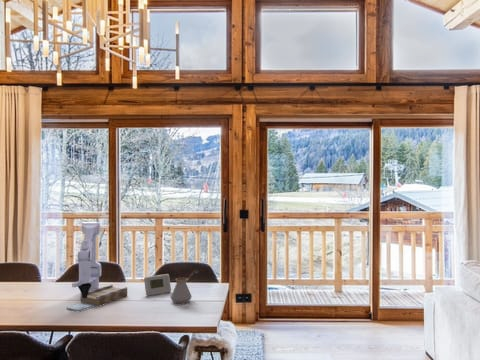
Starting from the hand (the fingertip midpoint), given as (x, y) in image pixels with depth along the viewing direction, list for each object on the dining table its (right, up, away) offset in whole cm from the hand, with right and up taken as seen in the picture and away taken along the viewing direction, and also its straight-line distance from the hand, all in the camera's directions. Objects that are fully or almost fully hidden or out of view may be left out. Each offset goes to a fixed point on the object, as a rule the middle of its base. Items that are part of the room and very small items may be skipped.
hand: (84, 297), depth 210 cm
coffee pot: (+53, -5, +12) cm, 55 cm away
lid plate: (-1, -5, -2) cm, 6 cm away
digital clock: (+34, -5, +25) cm, 43 cm away
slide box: (+7, -5, +12) cm, 15 cm away
